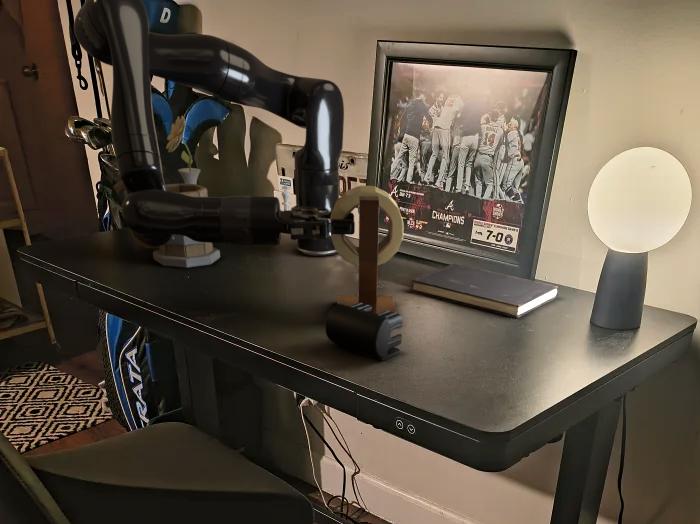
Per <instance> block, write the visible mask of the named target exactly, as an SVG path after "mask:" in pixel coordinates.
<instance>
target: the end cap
mask: <svg viewBox="0 0 700 524" xmlns="http://www.w3.org/2000/svg"><path fill="white" fill-rule="evenodd" d="M371 309H372V306H370V305H366V304H363V303H357V304H354V305H351V306H346V305H343V304H337V303H336V304H334V306H332V307H331V309H330V310H329V311H328V314H327V316H326V320H325V325H324V327H325V334H326V337H327V338H328V340H329V341H330V342H332V343H333V344H334V345H336V346H337V347H340V348H342V349H346V350H349V351H352V352H354V353H359V354H361V355H364V356H367V357H370V358H373V359H376V360H378V361H379V360H380V361H387V360H389V359H391V358H393V357H396V356H398V355H399V354H400V348H397V346H400V345H402V340H403V336H402V333H398V334H396V335H393V336H391V333H392V332H393V331H394V330H397V329H399V328H402V327H403V315H401V314H400V313H397V311H396V312H395V313H394V312H391V311H389V310H388V311H387V310H386V311H384V312H381V313H377V314H373V313H370V312H366V311H368V310H371Z"/></svg>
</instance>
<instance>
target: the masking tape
mask: <svg viewBox="0 0 700 524" xmlns="http://www.w3.org/2000/svg"><path fill="white" fill-rule="evenodd" d="M359 196H378V198H379V210H380V211H381V212H382V213H383V214H384V215H385V216H386V218H387V219H388V225H387V226H388V227H387V234H386V235H385V237H383V238H382V239H381V240H380V241H379V242H378V266H380V265H383V264H387V262H388V261H390V260H391V258H393V257H394V255H396V254H397V252H398V250H399V248H400V246H401V244H402V242H403V240H404V228H405V227H404V225H405V223H404V220H403V217H402V214H401V211H400V208H399V205H398V203H397V202H396V201H395V200H394V199H393V197H392V196H391V195H390V194H389V193H388V192H387V191H385V190H383V189H381V188H379V187H377V186H374V185H358V186H355V187H353V188H351V189H348V190H346V191H345V192H344V193H343V194H342V195H341V196H339V199H338V200H337V201H336V203H335V205H334V208H333V210H332V213H331V216H330V219H331V222H332V219H345V218H346V217H347V216H348V215H349V214H350V213H353V211H354V210H355V209H356V208H358V207H359ZM330 236H331V239H332V242H333V244H334V247H335V249H336V251H337V252H338V253H337V254H338V255H339V256H340V257H341V258H342V259H343V260H344V261H345V262H347V263H349V264H351V265H353V266H356V267H357V268H359V246H356V245H355V244H354V242H353V241H352V240H351V239H350V238H349V237H348V236H347V234H332V233H331V235H330Z"/></svg>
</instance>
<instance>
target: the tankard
mask: <svg viewBox="0 0 700 524" xmlns="http://www.w3.org/2000/svg"><path fill="white" fill-rule="evenodd" d="M165 186H166V189H167V191H169V192H174V193H179V194H184V195H187V196H192V197H209V196H208V195H209V194H208V188H207V187H206V186H205V187H204V186H203V185H200V184H197V185H196V184H185V183H168V184H166V183H165ZM112 188H113V189H114V191H115V192H116V194H119V195H120V194H121V193H123V192H126V188H125V185H124V183H123V181H122V180H120V181H118V182H117V183H116V184H114V185H113V186H112ZM130 234H131V236H132V238H133V239H134V241H135V242H136V244H137V246H138V247H141V248H145V249H149V250H154V251H153V252H152V257H153V260H154V261H156V262H157V263H158V264H160V265H162V266H163V267H169V268H170V267H171V268H172V267H173V268H174V267H175V268H184V269H188V268H189V269H190V268H196V267H203V266H210V265H213V263H215V262H216V261H217V260H220V258H221V251H220V249H218V248H216V247H214V246H213V243H208V242H207V243H206V242H197V241H193V240H191V239H190V238H188V237H186V236H183V235H174V234H173V235H172V237H171V239H170V240H169V241H168V242H167V243H166V244H164V245H162V246H157V247H154V246H149V245H146V244H144V243H143V242H141V241H140V240H139V239H138V238H137V237H136V236H135V235H134V233H133V232H132V231H131V230H130Z"/></svg>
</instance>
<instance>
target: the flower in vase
mask: <svg viewBox="0 0 700 524" xmlns="http://www.w3.org/2000/svg"><path fill="white" fill-rule="evenodd" d="M186 126H187V123H186V119H185V117H184V115H181V117H180V115H178V116H177V117H176V120H175V123H172V124H171V129H170V132H169V133H170V134H169V135H167V138H166V140H167V141H168V143H167V144H166V147H165V149H166V150H168V151H167V152H168V153H173V152H174V151H175V150H176V149H177V148H178V147H179V145H180V142H181V141H182V142H183V145H184V147H185V148H186V150H187V152H186V151H185V150H183V151H182V153H181V156H180V158H181V159H182V160H183V161H184V162H185V163H187V167H183V168H179V169H177V172H178V173H179V174H180V176H181V177H182V180H183V182H184V184H196V185H198V184H197V183H198V177H199V175H200V173H201V169H200V168H195V167H192V164H193V162H194V160H193V155H192V154H191V151H190V149H189V147H188V145H187V143H186V141H185V139H184V138H183V137H184V133H185V130H186ZM187 153H188V154H187Z"/></svg>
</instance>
